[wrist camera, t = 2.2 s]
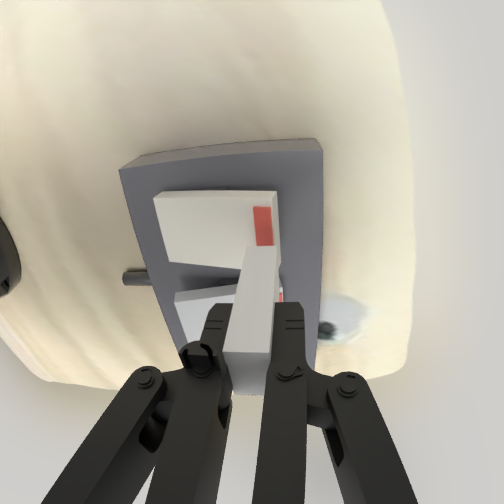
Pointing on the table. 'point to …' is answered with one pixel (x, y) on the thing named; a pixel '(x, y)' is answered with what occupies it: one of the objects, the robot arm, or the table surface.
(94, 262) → the table surface
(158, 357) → the table surface
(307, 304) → the rocker switch panel
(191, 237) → the cream rocker
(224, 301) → the grey rocker
